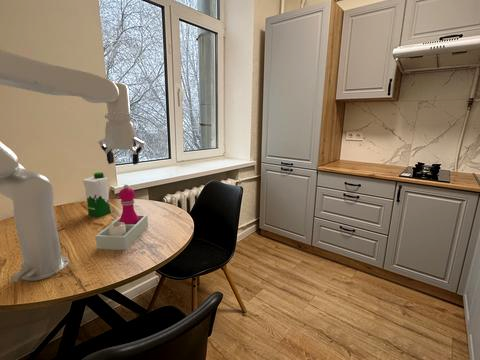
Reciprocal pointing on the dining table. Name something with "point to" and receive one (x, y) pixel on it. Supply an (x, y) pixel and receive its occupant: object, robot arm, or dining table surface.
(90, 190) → the milk carton
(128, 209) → the pepper mill
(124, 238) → the grey divided tray
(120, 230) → the salt cellar
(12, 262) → the dining table surface
